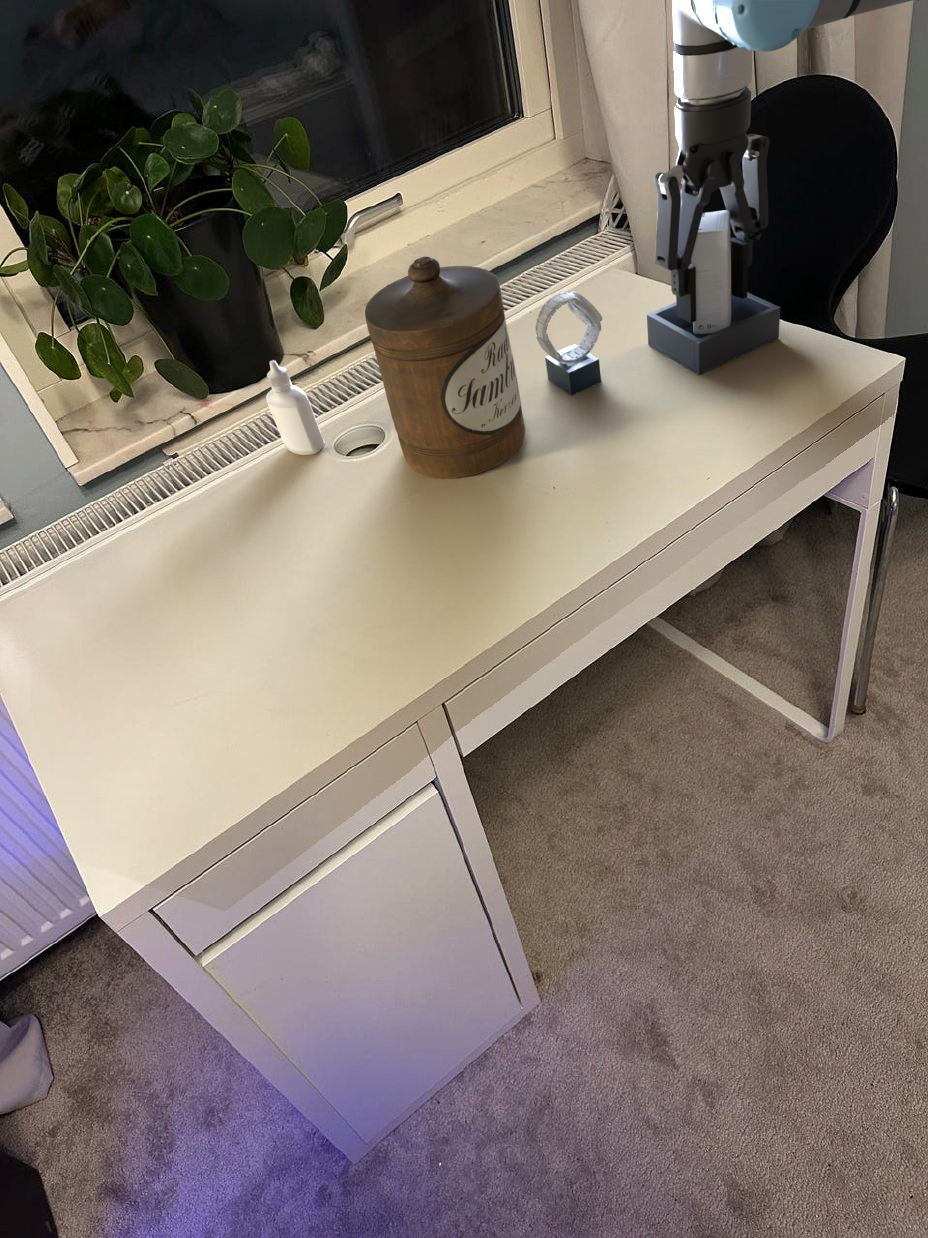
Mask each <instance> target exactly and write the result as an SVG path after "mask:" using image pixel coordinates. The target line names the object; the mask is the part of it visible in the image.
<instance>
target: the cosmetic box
mask: <svg viewBox="0 0 928 1238" xmlns="http://www.w3.org/2000/svg"><path fill="white" fill-rule="evenodd" d="M731 233H732V232H731V222H730V211H728V210H726V209H725V210H723V209H722V210H716V211H707V212H703V214H702V218H701V222H700V226H699V230H698V234H697V237H696V241H695V245H694V249H693V253H692V257H691V261H690V265H692V266H694V267H696V321H695V322H693V331H694V333H695V334H710V333H715V332H717V331H720V330H722V329H724V328H726V327H729V326H730V322H731V238H732V237H731V236H732V235H731Z"/></svg>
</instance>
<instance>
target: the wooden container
mask: <svg viewBox="0 0 928 1238" xmlns="http://www.w3.org/2000/svg"><path fill="white" fill-rule="evenodd" d="M501 289H502V288H501V284H500V281H499V279H498V277H497V275H495V273H493V272H491V271H490V270H488V269H485V268H482V267H478V266H472V265H450V266H449V265H448V266H441V265H440V262H439V260H437V259H436V258H433V257H430V256H422V257H421V256H420V257H419V258H417V259H414V261H413V262H412V263H411V264H410V265H409V267H408V270H407V275H406V276H404V277H402V278H400V279H397V280H395V281H393V282H391V283H389V284H387V285H386V286H384V287H382V288H381V289H380V290H379V291H377V292H376V293H375V294H374V295H373V296H372V297H371V298H370V299H369V301H368V302H367V304H366V306H365V310H364V317H365V323H366V327H367V331H368V334H369V338H370V341H371V343H372V346H373V350H374V355H375V359H376V362H377V365H378V368H379V372H380V375H381V380H382V384H383V387H384V388H383V389H384V392H385V395H386V400H387V404H388V408H389V411H390V415H391V419H392V422H393V425H394V428H395V431H396V434H397V438H398V442H399V445H400V448H401V452H402V455H403V458H404V460H405V461H404V462H405V463H406V464H407V465H408V467H410V468H411V469H412V470H413V471H415V472H416V473H419V474H421V475H424V476H427V477H432V478H438V479H457V478H465V477H469V476H474V475H477V474H480V473H483V472H485V471H489V470H492V469H493V468H495V467H497V466H499V465H501V464H502V463H504V462H506V461H507V460H508V459H509V458H511V457H512V456H513V455H514V454H515V453H516V452H517V451H518V450H519V448H520V447H521V446H522V444H523V442H524V440H525V435H526V426H525V420H524V413H523V408H522V399H521V394H520V388H519V387H520V386H519V382H518V376H517V370H516V365H515V360H514V356H513V351H512V346H511V340H510V335H509V330H508V329H509V328H508V323H507V320H506V315H505V314H506V313H505V307H504V300H503V294H502V290H501Z"/></svg>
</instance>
